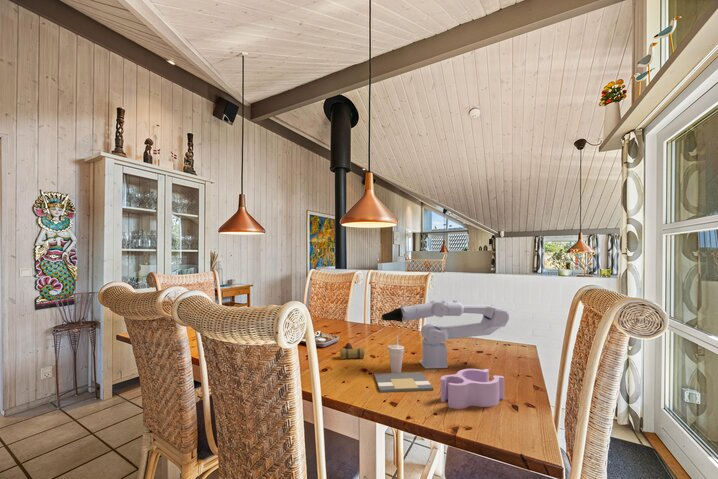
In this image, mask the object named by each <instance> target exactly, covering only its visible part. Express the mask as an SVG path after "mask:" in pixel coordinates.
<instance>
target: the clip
mask: <svg viewBox="0 0 718 479" xmlns="http://www.w3.org/2000/svg"><path fill="white" fill-rule="evenodd" d="M489 373H490V369H488V368H484V369H478V368H464V369H461V370H458V371H457V372H456V373H455V374H445V375H442V376H440V402H441V403H446V400H448V401H447V402H448V404H447V405H448V408H450V409H455V410H459V409H460V410H461V409H467V408H468V407H472V406H473V407H481V408H490V407H491V408H492V407H495V406H498V405H499V403H500V400H502V401H503V400H505V376H503V375H493V376H492V380H490V374H489Z"/></svg>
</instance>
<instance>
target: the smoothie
mask: <svg viewBox="0 0 718 479" xmlns="http://www.w3.org/2000/svg"><path fill="white" fill-rule="evenodd" d="M387 350H388V355H389V364H390V371H391V372H390V373H402V365H403V359H404V358H403V357H404V351H405V346H404V345H401V344H399V335H396V343H395V344H389V345H388V346H387Z"/></svg>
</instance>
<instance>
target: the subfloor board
mask: <svg viewBox="0 0 718 479" xmlns="http://www.w3.org/2000/svg"><path fill="white" fill-rule="evenodd" d="M373 376H374V377H373V378H374V379H375V382H376V385H377V387H378V389H379V392H380V393H393V392H394V393H396V392H397V393H398V392H419V391H420V392H421V391H426V392H427V391H434V386H433V385H432V384H431V382H430V381H429V380H428V378H426V376H425V375H424V374H423V372H422V371H416V372H415V371H413V372H412V371H411V372H401V373H392V372H389V373H388V372H386V373H385V372H384V373H383V372H382V373H380V372H379V373H373Z"/></svg>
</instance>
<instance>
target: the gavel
mask: <svg viewBox="0 0 718 479" xmlns="http://www.w3.org/2000/svg"><path fill="white" fill-rule="evenodd" d="M339 350H340V351H339V352H340V360H346V359H348V360H349V359H361V360H362V359H364V358H365V349H364V347H358V348H353V346H352V344H351V343H350V342H347V343H346V344H345V348H344V347H343V348H340V349H339Z"/></svg>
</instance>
